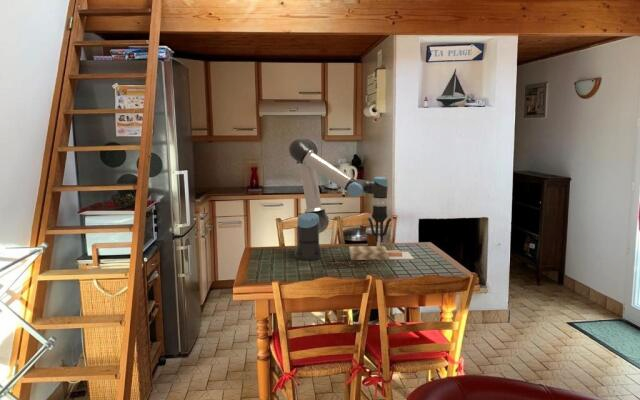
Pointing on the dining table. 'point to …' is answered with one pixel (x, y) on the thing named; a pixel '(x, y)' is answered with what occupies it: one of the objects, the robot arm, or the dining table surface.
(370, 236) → the disposable coffee cup
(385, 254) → the birch board
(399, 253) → the pink flat piece
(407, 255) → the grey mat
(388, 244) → the dining table surface
